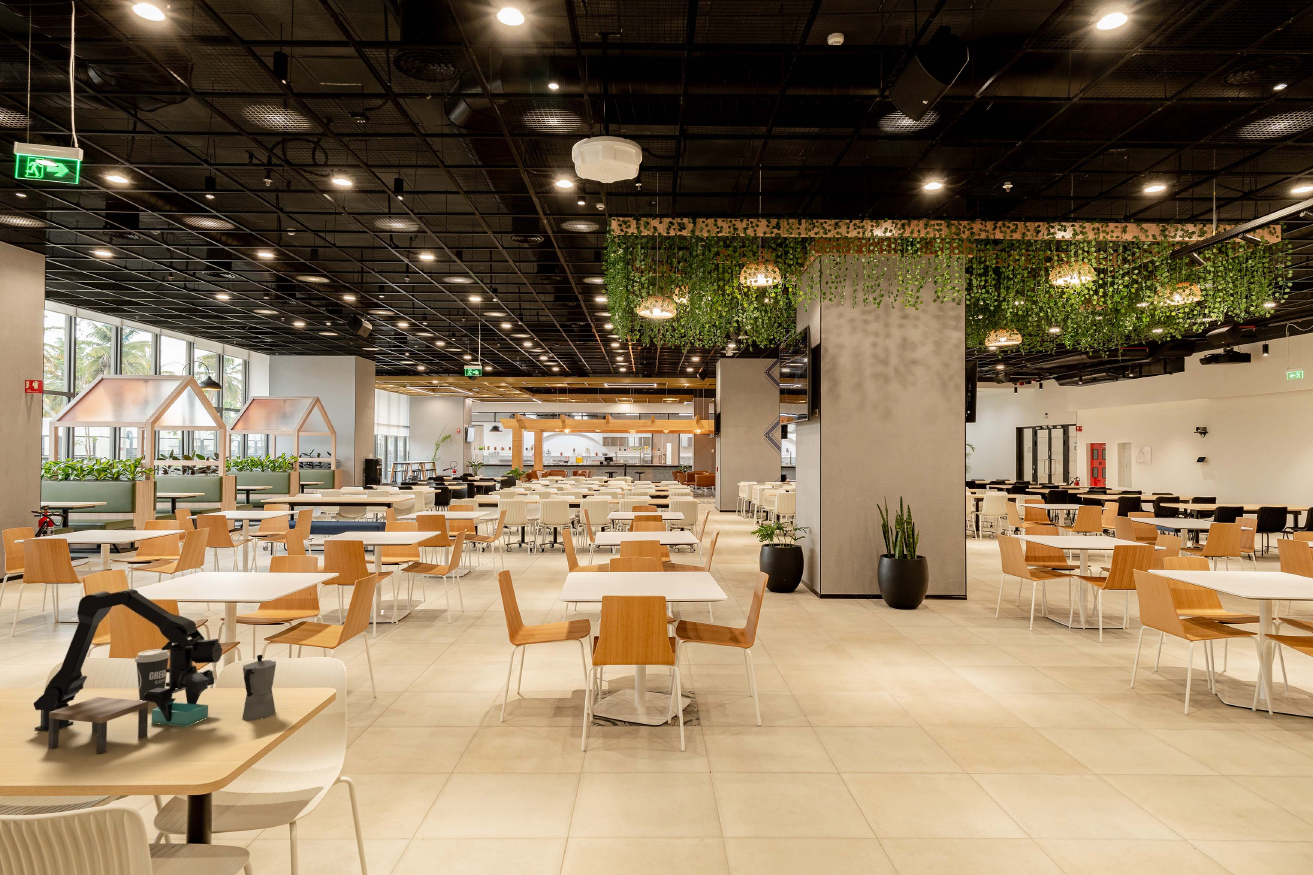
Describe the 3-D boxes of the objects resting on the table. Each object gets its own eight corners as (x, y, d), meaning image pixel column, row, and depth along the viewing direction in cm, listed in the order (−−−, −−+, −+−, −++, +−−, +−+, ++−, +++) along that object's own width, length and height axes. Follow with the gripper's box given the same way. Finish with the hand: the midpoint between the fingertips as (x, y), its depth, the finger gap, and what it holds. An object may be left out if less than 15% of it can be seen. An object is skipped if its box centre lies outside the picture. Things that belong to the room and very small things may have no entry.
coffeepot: (253, 708, 220) (253, 649, 221) (284, 706, 221) (285, 648, 222) (227, 726, 205) (228, 663, 205) (262, 724, 205) (262, 661, 206)
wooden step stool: (48, 748, 189) (49, 712, 190) (97, 730, 202) (98, 696, 202) (100, 754, 185) (101, 716, 185) (147, 735, 198) (148, 700, 198)
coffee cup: (139, 705, 224) (140, 657, 225) (129, 699, 230) (130, 652, 231) (174, 697, 232) (175, 650, 233) (163, 691, 238) (164, 646, 238)
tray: (187, 726, 205) (187, 712, 205) (151, 723, 208) (151, 709, 208) (207, 718, 212) (208, 704, 212) (173, 715, 215) (173, 701, 215)
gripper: (174, 674, 200) (173, 730, 199) (229, 656, 218) (228, 708, 217) (143, 671, 202) (142, 727, 202) (199, 655, 220) (198, 705, 220)
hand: (180, 716), depth 210 cm, fingers closed on tray, 7 cm apart
